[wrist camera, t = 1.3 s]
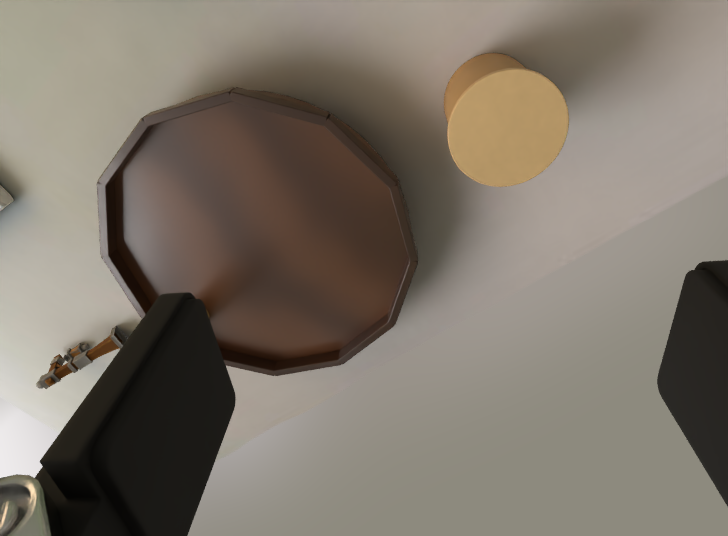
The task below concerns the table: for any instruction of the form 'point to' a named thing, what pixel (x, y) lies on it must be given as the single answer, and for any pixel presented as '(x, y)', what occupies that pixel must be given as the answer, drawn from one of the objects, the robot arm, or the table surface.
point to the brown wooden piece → (80, 358)
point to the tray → (260, 227)
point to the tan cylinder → (503, 120)
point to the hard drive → (4, 198)
